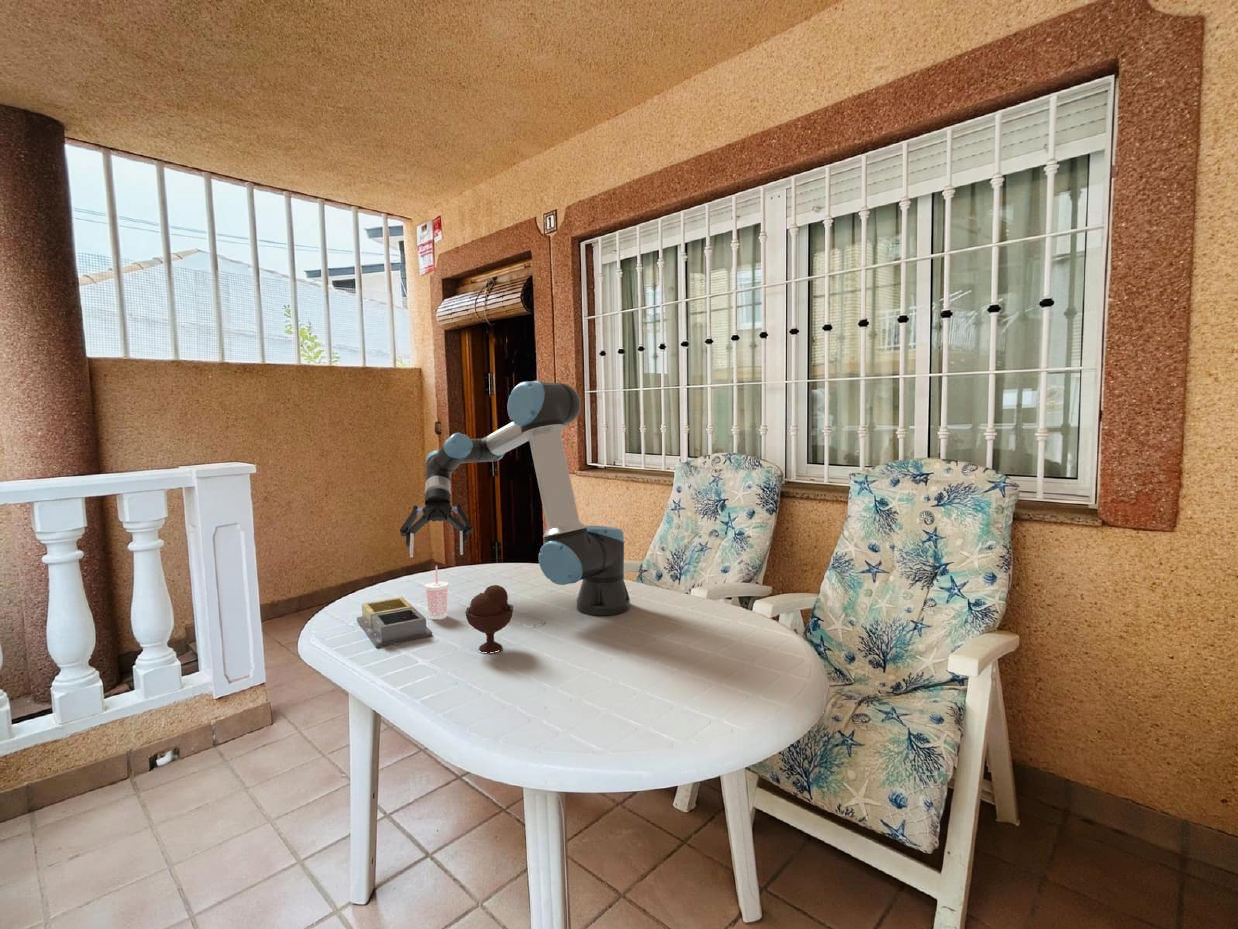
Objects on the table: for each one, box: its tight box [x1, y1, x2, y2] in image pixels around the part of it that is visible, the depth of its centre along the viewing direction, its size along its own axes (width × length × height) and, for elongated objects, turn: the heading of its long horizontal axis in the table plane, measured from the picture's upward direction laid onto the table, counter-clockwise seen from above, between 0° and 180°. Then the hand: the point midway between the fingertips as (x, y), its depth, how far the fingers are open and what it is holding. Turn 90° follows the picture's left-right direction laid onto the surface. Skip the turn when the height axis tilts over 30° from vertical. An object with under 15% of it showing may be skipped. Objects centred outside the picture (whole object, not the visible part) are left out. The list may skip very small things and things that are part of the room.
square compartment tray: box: [356, 596, 433, 649], centre depth 147 cm, size 22×13×4 cm, turn 35°
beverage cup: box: [424, 565, 450, 620], centre depth 155 cm, size 6×6×14 cm
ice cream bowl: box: [464, 584, 514, 653], centre depth 133 cm, size 11×11×15 cm
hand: (436, 553), depth 164 cm, fingers open, 13 cm apart
